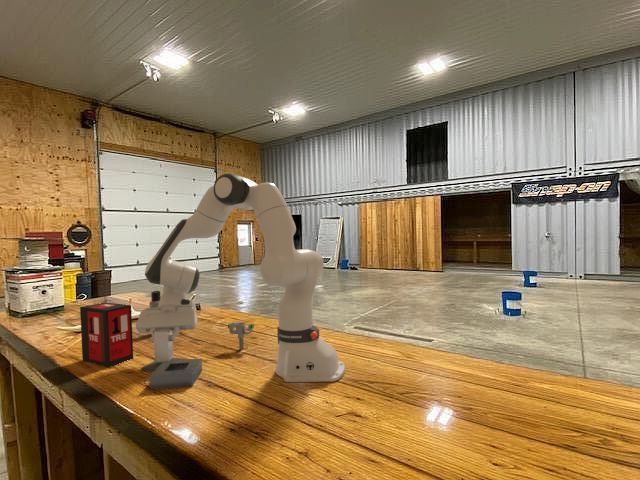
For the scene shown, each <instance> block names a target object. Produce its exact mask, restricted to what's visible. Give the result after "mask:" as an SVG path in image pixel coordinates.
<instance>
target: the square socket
mask: <svg viewBox="0 0 640 480" xmlns="http://www.w3.org/2000/svg"><path fill="white" fill-rule="evenodd" d="M185 359H186V360H172V361H164V362H163V363H162V364H161V365H160V366H159V367H158V368H157V369H156V370H155V371H154V372H151V374H150V375H149V390H150V391H151V390H154V391H155V390H163V389H164V390H165V389H167V390H168V389H175V388H176V389H178V388H191V387H194V385H195V382H196V381H197V380H198V379H199V376H200V375H201V373H202V372H203V358H202V357H201V358H191V359H189V358H185Z"/></svg>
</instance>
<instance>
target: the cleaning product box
mask: <svg viewBox="0 0 640 480" xmlns="http://www.w3.org/2000/svg"><path fill="white" fill-rule="evenodd" d="M79 307H80V312H79V313H80V334H81V335H80V336H81V354H82V356H81V358H82V362H86V363H89V362H90V364H94V365H98V366H101V367H105V368H112V367H115V366H118V365H120V364H123V363H125V362H124V361H126V362H128V361H127V360H129V361H131V360H130V359H132V360H134V346H133V345H134V344H133V343H134V341H133V339H134V338H133V320H132V318H133V317H132V305H131V304H122V303H113V302H106V301H105V302H100V303H95V304H89V305H84V306H79ZM122 362H123V363H122ZM119 363H120V364H119ZM117 364H118V365H117Z"/></svg>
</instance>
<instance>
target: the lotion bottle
mask: <svg viewBox="0 0 640 480" xmlns="http://www.w3.org/2000/svg"><path fill="white" fill-rule="evenodd" d="M150 295H151V296H150V297H151V298H150V299H151V301H150V302H149V304H148V305H149V308H156V307H158V305H159V301H160V298H161V296H162V294H161V291H160V290H154V291H151V292H150Z"/></svg>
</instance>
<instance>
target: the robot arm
mask: <svg viewBox="0 0 640 480" xmlns="http://www.w3.org/2000/svg"><path fill="white" fill-rule="evenodd" d="M234 209H238V210H242V211H247V212H254V214H255V217H256V219H257V222H258V225H259V228H260V230H261V233H262V236H263V240H264V244H265V247H264V248H265V253H264V257H263V259H262V260H261V262H260V267H259V272H260V273H259V274H260V276H261V279H262V281H264V283H266V284H267V285H269V286H271V287H277V288H279V287H281V288H282V287H283V288H284V287H285V289H284V290H285V291H284V293H283V295H282V297H281V298H280V300H279V302H278V304H277V305H278V306H277V310H278V316H277V317H278V327H277V334H276V335H277V344H278V351H277V352H278V354H277V361H276V367H275V369H274V370H275V371H274V372H275V374H276V375H278V376H279V377H280V378H282V379H283V381H285V382H286V383H307V382H308V383H310V382H312V383H313V382H314V383H316V382H318V383H319V382H320V383H321V382H324V383H325V382H336V381H338V380H340V379H341V378H342V377H343V376H344V374H345V371H346V364H345V363H344V362H343V361H342V360H338V353H337V351H336V349H335V347H333V346H332V345H331V344H329V343H328V342H327V341H325V340H324V339H322V338H321V337H320V326H318V327H317V326H315V325H314V319H313V317H314V315H313V313H314V312H313V310H314V309H313V304H314V303H313V302H314V301H313V300H314V295H315V290H316V287H317V282H318V279H319V277H320V275H321V274H322V273H323V270H324V259H323V257H322V255H321V254H320V253H319V252H318V251H315V250H311V249H307V248H302V249H300V248H299V249H296V247H295V243H294V235H295V234H296V232H297V227H296V223H295V221H294V218H293V216H292V213H291V211H290V209H289V206H288V204H287V202H286V199H285V197H284V196H283V194H282V193H281V190H279V188H278V187H277V186H276V185H275V184H274V183H272V182H266V181H265V182H262V183H258V182H255V181H254V180H251V179H250V178H247V177H244V176H241V175H237V174H235V173H223V174H221V175H219V176H218V177H216V180H215V181H214V183H213V185H212V186H210V187H209V188H208V189H207V190H206V192H205V193H204V195H203V196H202V198H201V200H200V201H199V203H198V205H197V207H196V210H195V211H194V212H193V214H192V215H191V216H189V217H187V218H183V219H181V220H180V221H179V222H178V223H177V225H175V227H174V228H173V229H172V231H170V232H171V233H170V234H169V236H167V238H166V239H165V241H164V242H163V244H162V245H161V247H160V248H159V250H158V251H156V254H154V256H153V257H152V258H151V259H150V261H149V262H148V263H147V264H146V267H145V270H144V276H145V278H146V280H147V281H148V282H149V283H150V284H154V285H160V286H161V285H162V286H163V287H162V294H161V298H160V301H159V305H158V307H156V308H150V307H146V308H145V309H143V310H141V311H140V313H139V317H138V319H137V321H136V324H135V329H136V331H138V332H139V333H140V334H142V333H150V335H151V339H150V340H151V343H153V344H154V332H155V331H157V330H158V329H164V328H172V335H170V338H169V340H170V341H173V342H175V341H176V337H178V335H179V334H180V333H181V331H189V330H190V331H191V330H195V329H196V328H197V326H198V315H197V306H196V304H195V302H194V300H193V299H192V300H191V299H187V298H186V295H189V294H190V293H192V292H194V291H195V290H196V289H197V288H198V285H199V279H200V277H201V276H200V271H199V270H198V268H197V267H196V266H194V265H192V264H191V265H190V264H187V263H183V262H180V261H177V260H173V259H171V258H170V257H171V256H172V254H173V253H174V251H175V250H176V249H177V247H178V245H179V244H180V243H181V242H182V241H185V240H189V239H209V238H213V237H215V236H217V235H218V234H219V233H221V231H222V229H223V228H224V227H225V224H226V222H227V220H228V218H229V215H230V214H231V211H233V210H234Z"/></svg>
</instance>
